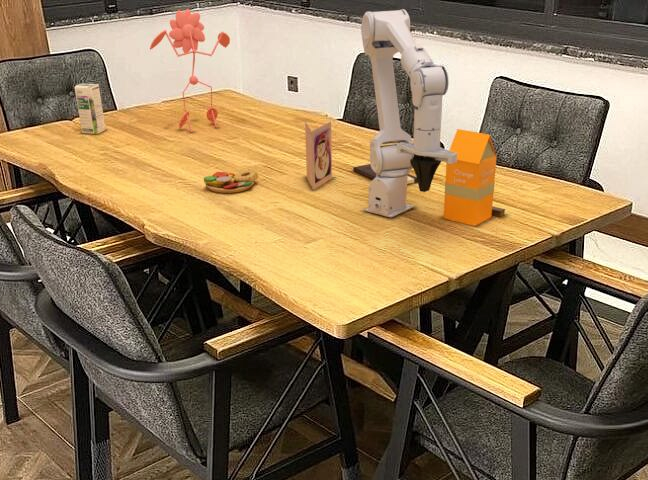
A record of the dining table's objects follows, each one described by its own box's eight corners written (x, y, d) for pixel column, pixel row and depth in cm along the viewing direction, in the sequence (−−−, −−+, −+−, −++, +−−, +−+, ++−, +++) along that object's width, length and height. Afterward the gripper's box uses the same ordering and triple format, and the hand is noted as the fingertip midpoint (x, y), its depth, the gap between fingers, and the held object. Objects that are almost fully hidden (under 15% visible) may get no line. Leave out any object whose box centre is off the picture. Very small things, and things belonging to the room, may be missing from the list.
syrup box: (81, 133, 269) (73, 86, 261) (91, 129, 274) (83, 82, 266) (97, 134, 268) (89, 87, 260) (106, 130, 272) (99, 83, 264)
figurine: (240, 124, 276) (232, 8, 257) (169, 137, 264) (155, 15, 245) (219, 115, 287) (209, 3, 268) (149, 127, 274) (134, 10, 256)
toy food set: (263, 181, 224) (262, 169, 222) (245, 196, 213) (244, 184, 212) (217, 177, 227) (215, 165, 226) (197, 192, 217) (196, 180, 215)
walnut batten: (500, 217, 198) (500, 211, 197) (457, 207, 205) (457, 201, 204) (504, 215, 199) (505, 209, 199) (461, 204, 206) (462, 199, 205)
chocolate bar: (380, 161, 234) (418, 178, 221) (380, 165, 235) (418, 181, 222) (353, 167, 230) (390, 183, 217) (353, 170, 231) (390, 187, 218)
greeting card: (316, 190, 217) (314, 131, 209) (291, 187, 219) (288, 128, 211) (334, 178, 225) (334, 121, 217) (310, 175, 228) (308, 118, 220)
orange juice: (460, 209, 203) (466, 125, 192) (491, 217, 198) (499, 131, 188) (442, 218, 198) (447, 132, 187) (474, 226, 193) (481, 138, 182)
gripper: (466, 128, 175) (462, 192, 183) (410, 118, 183) (408, 179, 191) (447, 135, 171) (443, 200, 178) (391, 125, 179) (390, 187, 186)
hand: (424, 190), depth 184 cm, fingers closed
